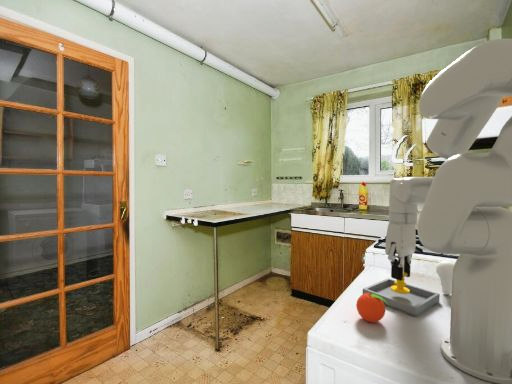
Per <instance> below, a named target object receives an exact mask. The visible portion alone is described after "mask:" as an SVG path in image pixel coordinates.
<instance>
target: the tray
mask: <svg viewBox="0 0 512 384" xmlns="http://www.w3.org/2000/svg"><path fill="white" fill-rule="evenodd" d="M395 281H396V279H393V278H386V279H384V280H383V279H382V280H381V281H378V282H376V283H373V284H371V285H368V286H365V287H363V288H362V295H363V294H365V293H372V294H375V295H377V296H380V297H382V298H383V299H384V300H385V301H386V302H387V303H388V304H387V303H386V302H385V301H383V300H382V301H383V303H384V305H386V306H385V307H388V308H389V307H390V309H393V310H395V311H398V312H401V313H403V314H406V315H409V316H411V317H413V318H417V317H419V316H420V315H422V314H424V313H425V312H427V311H428V310H430V309H431V308H432V307H434V306H436V305H437V304H439V303H440V297H441V296H440V293H439V292H438V293H437V292H435V291H431V290H428V289H424V288H421V287H418V286H415V285H412V284H408V283H406V286H404V287H406V288H408V289H409V290H410V293H408V294H400V293H396V292H394V291H392V290H391V286H394V285H396V284H395V283H394V282H395ZM388 305H389V306H388Z"/></svg>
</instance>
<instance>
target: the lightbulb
mask: <svg viewBox="0 0 512 384" xmlns="http://www.w3.org/2000/svg"><path fill="white" fill-rule="evenodd" d="M454 265H455V262H453V261H450V260H442V261H440V262H438V263H437V264H436V267H435V271H436V273H437V275H438V277H439V279H440V285H441V292H442V293H444V295H445V296H449V295H452V273H453V268H454Z"/></svg>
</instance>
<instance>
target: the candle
mask: <svg viewBox="0 0 512 384" xmlns="http://www.w3.org/2000/svg"><path fill="white" fill-rule="evenodd" d="M397 260H398V262H399V258H397ZM402 267H403V280H401V281H400V280H397V279H395V282H394V283H395V284H396V285H394V286H391V290H392V291H394V292H396V293H400V294H408V293H410V290H409V289H408V288H406V287H404V286H406V284H407V283H406V282H405V278H406V277H405V276H407V275H408V274H407V273H405V272H404V257H403V260H402Z"/></svg>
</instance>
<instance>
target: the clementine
mask: <svg viewBox="0 0 512 384" xmlns="http://www.w3.org/2000/svg"><path fill="white" fill-rule="evenodd" d="M382 300H383V301H385V300H384V299H383V298H382V297H380V296H377V295H375V294H372V293H365V294H363V293H362V294H361V295H360V296H359V297H358V298H357V300H356V306H355V307H356V311H357V313H358V315H359V316H360V317H361V318H362V319H363V320H364V321H367V322H369V323H377V322H380V321H381V320H382V319H383V318H384V317H385V313H386V306H385V305H384V303H383V301H382ZM385 302H386V301H385ZM386 303H387V302H386ZM387 304H388V303H387ZM388 306H389V305H388ZM388 306H387V307H388ZM388 308H389V309H391V307H388Z"/></svg>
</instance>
